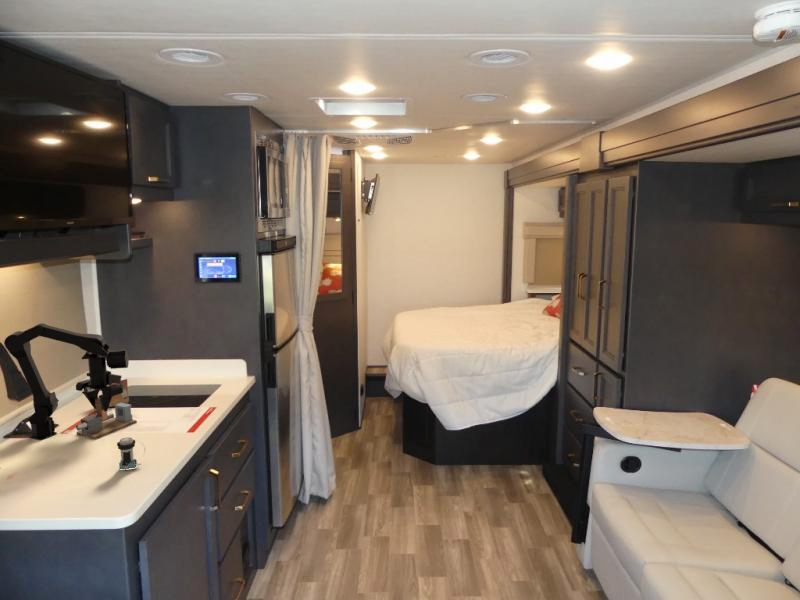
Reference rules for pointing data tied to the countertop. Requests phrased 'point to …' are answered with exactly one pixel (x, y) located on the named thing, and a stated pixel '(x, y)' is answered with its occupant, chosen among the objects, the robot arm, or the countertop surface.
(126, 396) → the small box
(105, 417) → the sliding bolt with handle
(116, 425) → the base plate
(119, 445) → the push button
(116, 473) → the countertop surface
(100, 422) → the outer sleeve
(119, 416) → the socket
